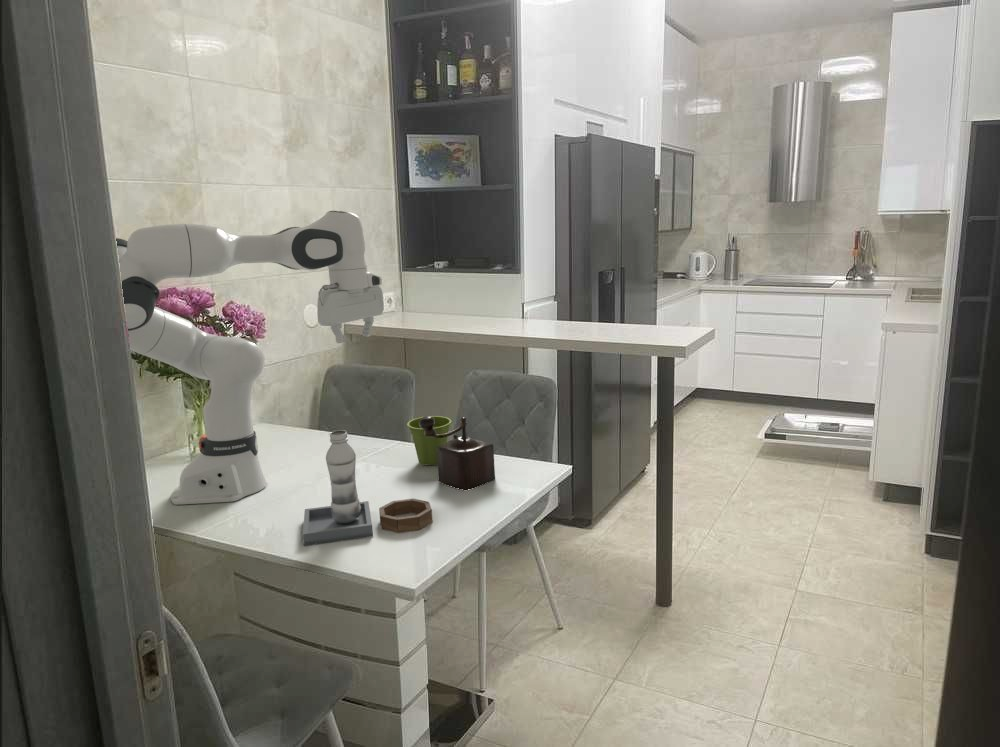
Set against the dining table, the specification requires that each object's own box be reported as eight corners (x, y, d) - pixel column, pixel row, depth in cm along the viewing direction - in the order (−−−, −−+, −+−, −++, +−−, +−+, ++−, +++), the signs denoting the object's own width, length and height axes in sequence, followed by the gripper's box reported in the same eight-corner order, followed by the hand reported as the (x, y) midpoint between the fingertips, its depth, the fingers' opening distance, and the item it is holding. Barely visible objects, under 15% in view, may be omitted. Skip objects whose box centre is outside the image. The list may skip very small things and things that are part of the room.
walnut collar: (382, 535, 156) (381, 521, 155) (379, 515, 166) (378, 502, 166) (434, 528, 158) (433, 514, 157) (427, 509, 168) (427, 496, 168)
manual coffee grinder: (466, 470, 193) (462, 403, 189) (496, 479, 185) (492, 409, 182) (420, 487, 182) (414, 417, 179) (450, 498, 175) (445, 424, 171)
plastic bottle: (332, 528, 158) (323, 438, 154) (331, 517, 165) (322, 430, 160) (362, 524, 160) (354, 435, 155) (361, 513, 166) (353, 426, 162)
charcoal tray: (304, 546, 152) (302, 534, 152) (305, 520, 166) (304, 509, 165) (373, 536, 155) (372, 524, 155) (369, 511, 169) (368, 501, 168)
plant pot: (401, 464, 200) (397, 424, 198) (430, 452, 209) (428, 414, 207) (433, 472, 193) (430, 430, 191) (462, 459, 202) (460, 419, 200)
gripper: (329, 285, 164) (335, 347, 167) (386, 277, 181) (390, 333, 184) (307, 285, 167) (314, 346, 170) (365, 277, 184) (370, 332, 187)
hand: (354, 339), depth 177 cm, fingers open, 8 cm apart
